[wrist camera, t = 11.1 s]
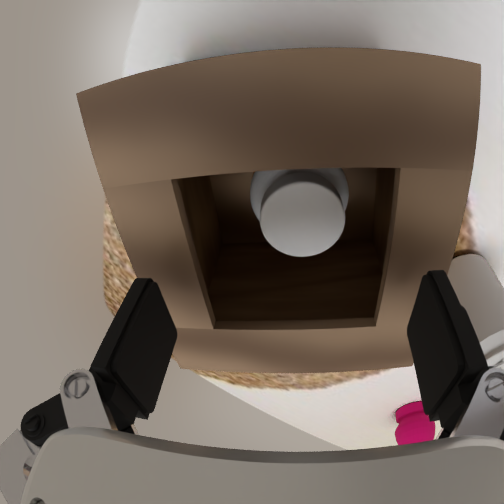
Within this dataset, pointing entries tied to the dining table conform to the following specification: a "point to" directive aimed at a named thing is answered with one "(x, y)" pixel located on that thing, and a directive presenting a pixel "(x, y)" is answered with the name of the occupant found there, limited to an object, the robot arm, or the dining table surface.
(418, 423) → the pepper mill
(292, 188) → the supplement bottle
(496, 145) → the dining table surface
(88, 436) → the robot arm
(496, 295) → the can
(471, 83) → the drop box
